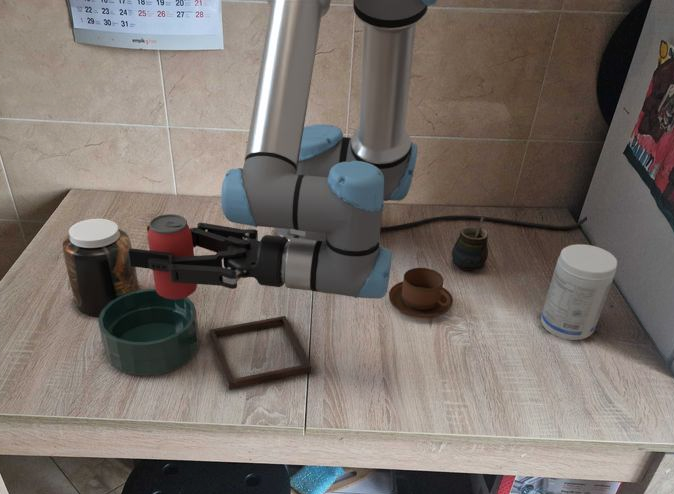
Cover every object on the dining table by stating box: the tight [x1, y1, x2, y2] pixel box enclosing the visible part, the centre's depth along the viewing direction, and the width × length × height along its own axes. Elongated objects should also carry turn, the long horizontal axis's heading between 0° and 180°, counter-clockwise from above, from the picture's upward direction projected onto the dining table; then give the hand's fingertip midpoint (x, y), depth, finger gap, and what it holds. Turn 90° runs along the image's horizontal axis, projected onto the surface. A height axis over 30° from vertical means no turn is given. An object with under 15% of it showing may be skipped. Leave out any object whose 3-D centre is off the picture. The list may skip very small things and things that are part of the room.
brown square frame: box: [208, 315, 313, 391], centre depth 111 cm, size 14×15×2 cm
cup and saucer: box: [388, 267, 454, 319], centre depth 121 cm, size 12×12×6 cm
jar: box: [62, 218, 140, 318], centre depth 118 cm, size 12×12×15 cm
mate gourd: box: [451, 215, 489, 273], centre depth 132 cm, size 7×8×10 cm
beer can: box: [147, 213, 198, 300], centre depth 100 cm, size 7×7×12 cm
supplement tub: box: [540, 243, 618, 341], centre depth 114 cm, size 10×10×15 cm
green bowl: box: [97, 288, 201, 376], centre depth 109 cm, size 16×16×7 cm
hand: (140, 245), depth 99 cm, fingers closed on beer can, 7 cm apart
